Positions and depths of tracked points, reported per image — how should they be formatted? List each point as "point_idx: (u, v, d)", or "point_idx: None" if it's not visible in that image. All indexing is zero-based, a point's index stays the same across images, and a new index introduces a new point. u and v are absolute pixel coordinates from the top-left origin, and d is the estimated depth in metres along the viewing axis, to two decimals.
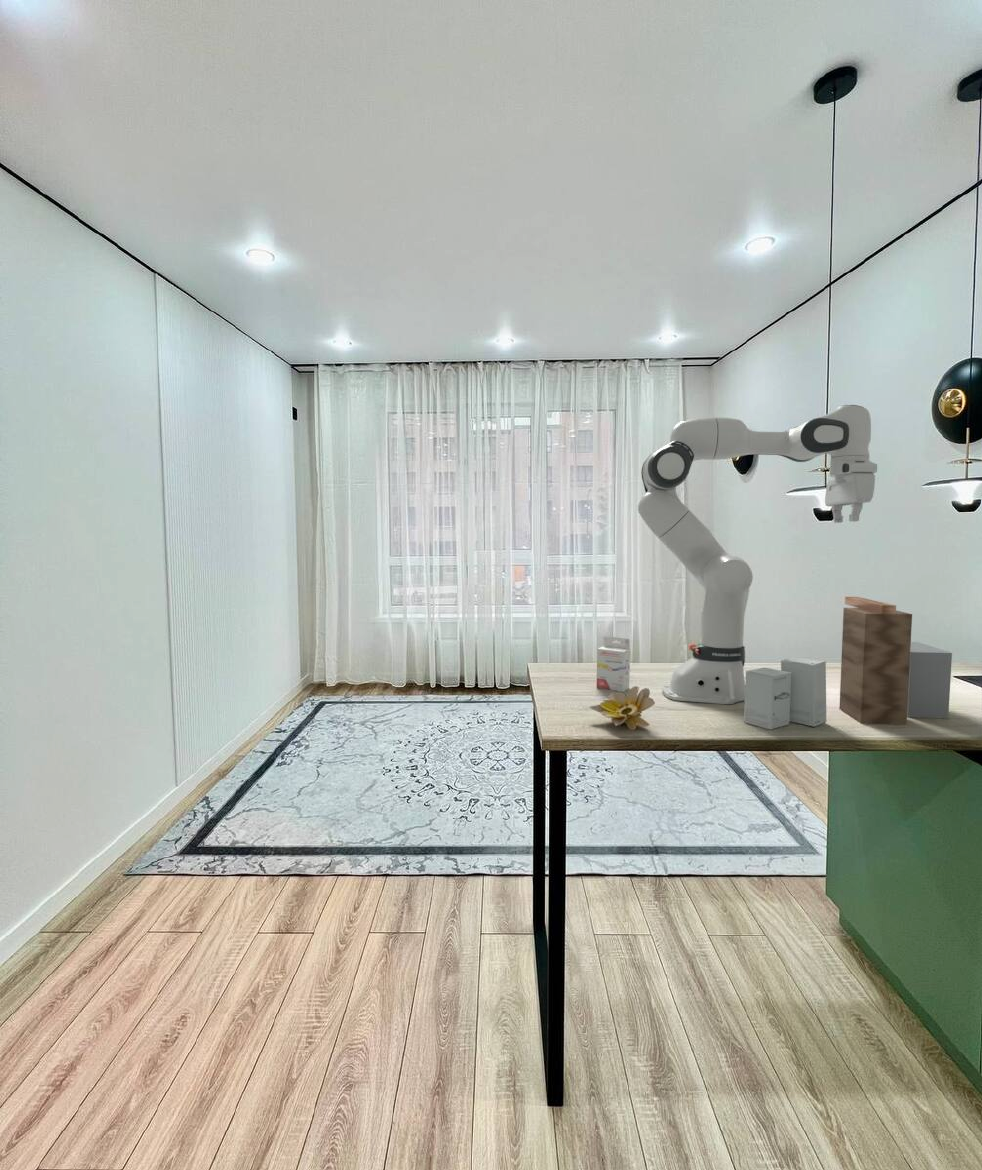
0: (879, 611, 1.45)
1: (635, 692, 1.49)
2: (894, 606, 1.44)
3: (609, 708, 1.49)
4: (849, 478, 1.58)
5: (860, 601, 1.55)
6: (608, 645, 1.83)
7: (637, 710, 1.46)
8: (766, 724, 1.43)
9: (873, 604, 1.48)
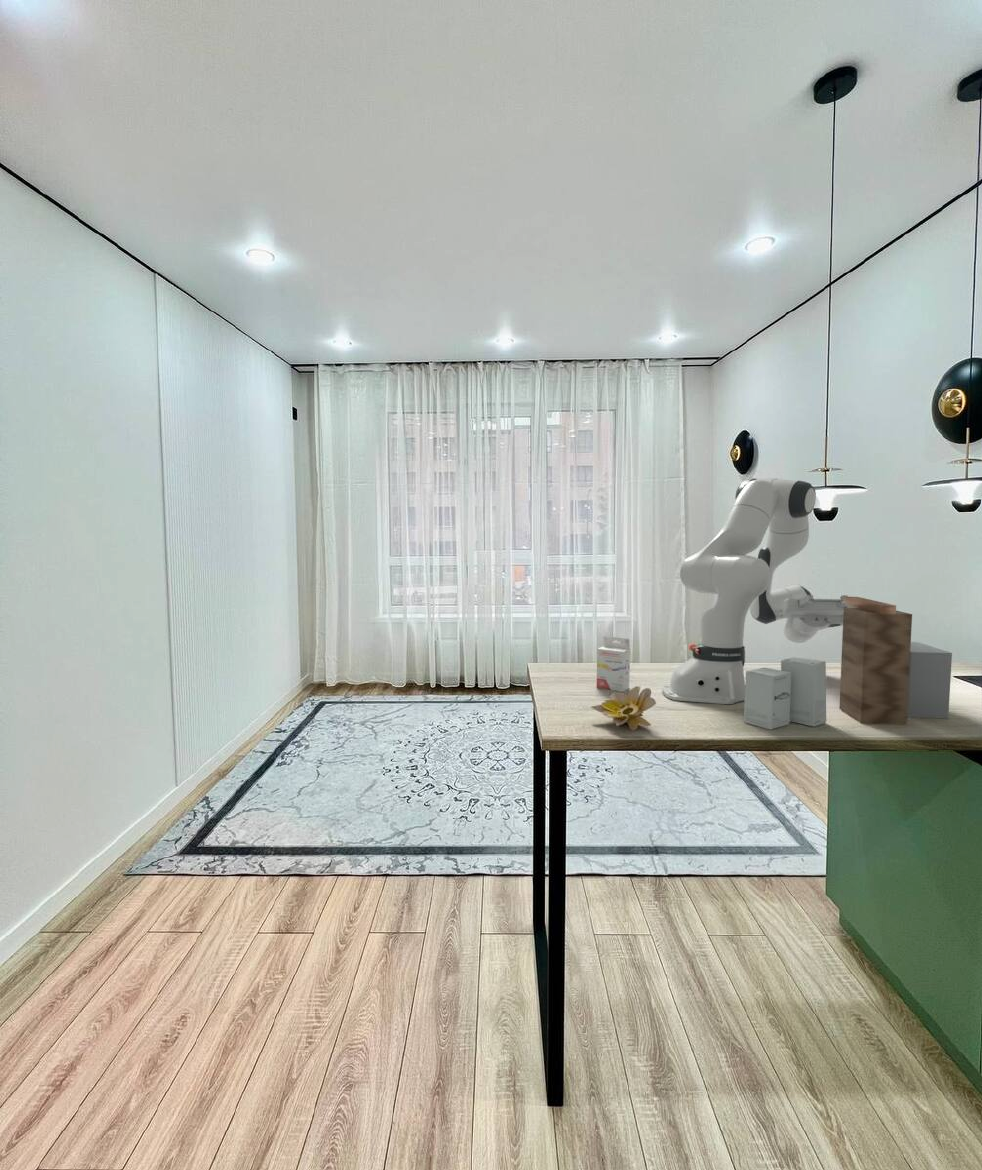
0: (879, 611, 1.45)
1: (636, 692, 1.50)
2: (894, 606, 1.44)
3: (610, 708, 1.50)
4: None
5: (860, 601, 1.55)
6: (608, 645, 1.83)
7: (638, 710, 1.46)
8: (766, 724, 1.43)
9: (873, 604, 1.48)
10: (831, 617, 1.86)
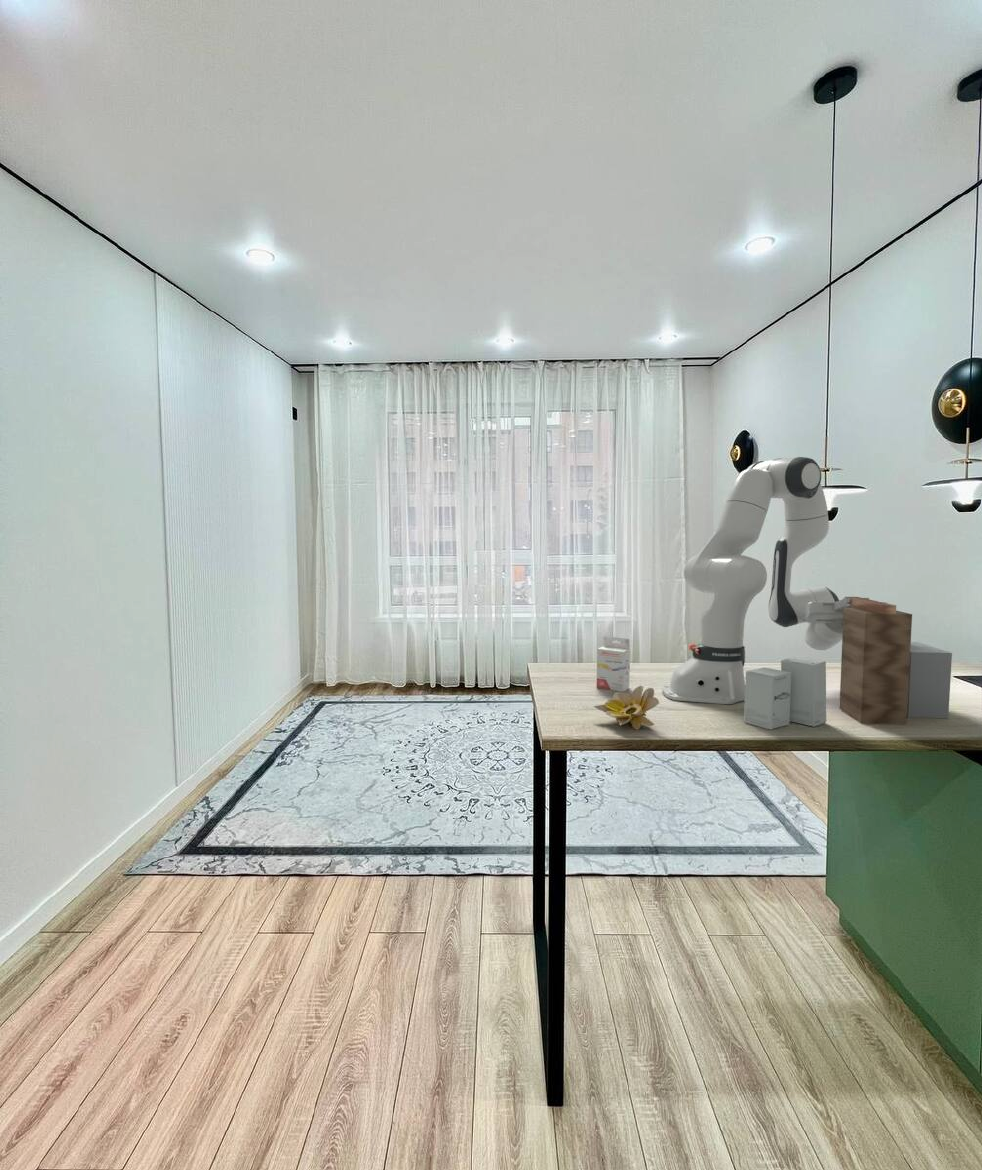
0: (879, 611, 1.45)
1: (640, 692, 1.50)
2: (894, 606, 1.44)
3: (613, 708, 1.50)
4: None
5: (860, 601, 1.55)
6: (608, 645, 1.83)
7: (642, 710, 1.46)
8: (766, 724, 1.43)
9: (873, 604, 1.48)
10: None
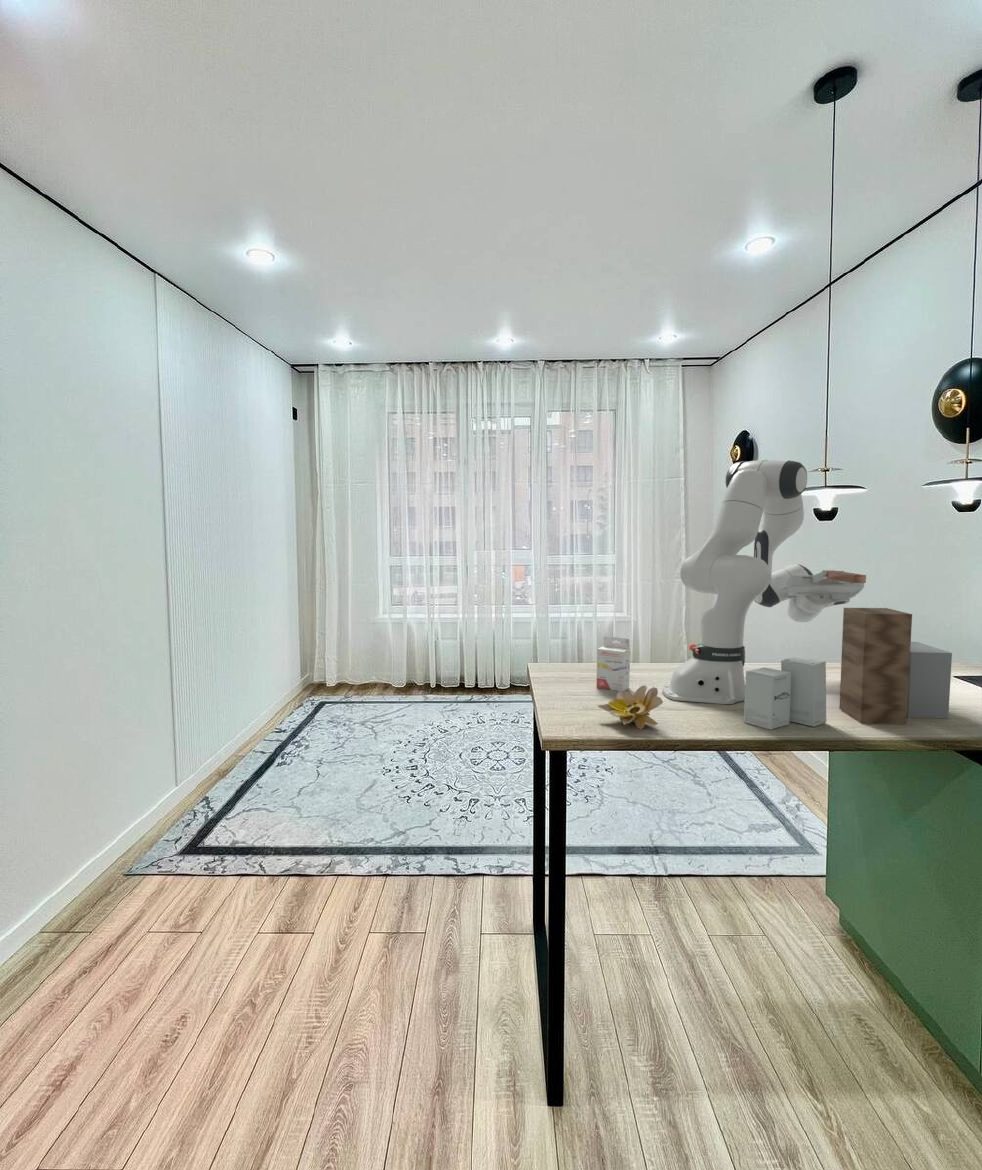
0: (851, 580, 1.60)
1: (643, 691, 1.50)
2: (864, 576, 1.59)
3: (617, 707, 1.50)
4: None
5: (835, 573, 1.70)
6: (608, 645, 1.83)
7: (645, 709, 1.47)
8: (766, 724, 1.43)
9: (846, 575, 1.63)
10: (837, 594, 1.83)
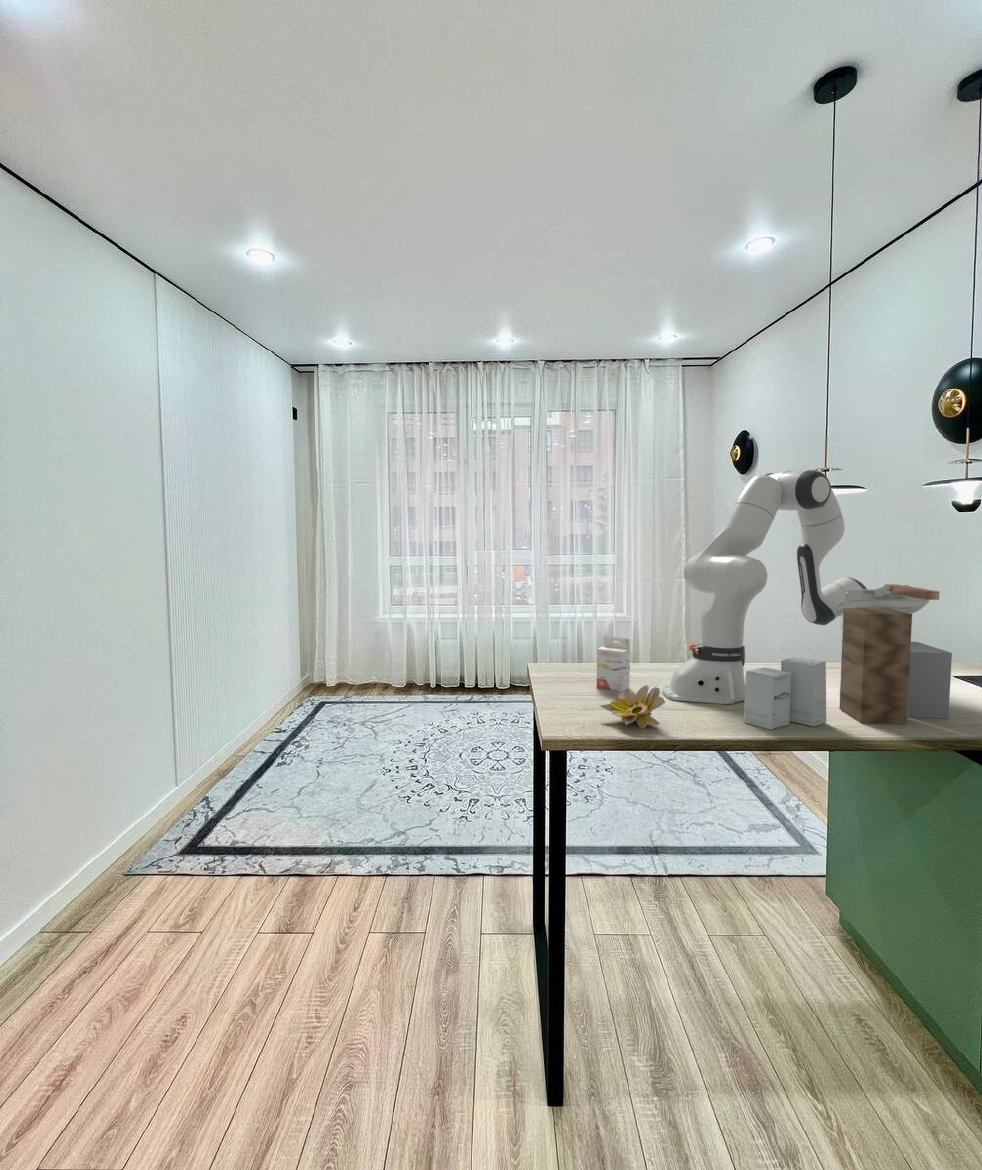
0: (923, 597, 1.51)
1: (645, 691, 1.50)
2: (937, 592, 1.49)
3: (619, 707, 1.50)
4: None
5: (901, 588, 1.60)
6: (608, 645, 1.83)
7: (647, 709, 1.47)
8: (766, 724, 1.43)
9: (916, 590, 1.54)
10: (898, 609, 1.73)
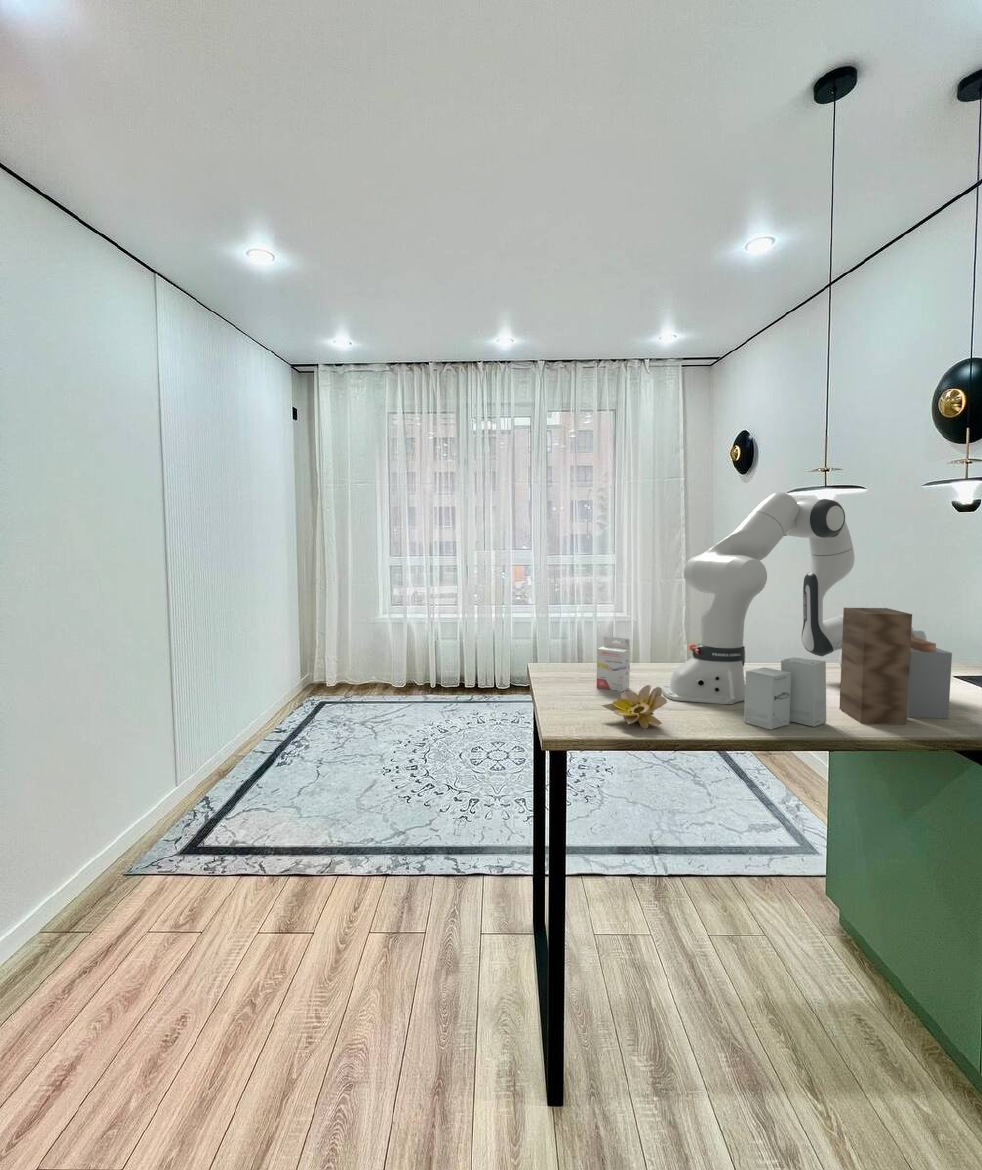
0: (919, 648, 1.52)
1: (647, 691, 1.51)
2: (934, 644, 1.50)
3: (621, 707, 1.51)
4: None
5: None
6: (608, 645, 1.83)
7: (649, 709, 1.47)
8: (766, 724, 1.43)
9: (913, 641, 1.55)
10: None
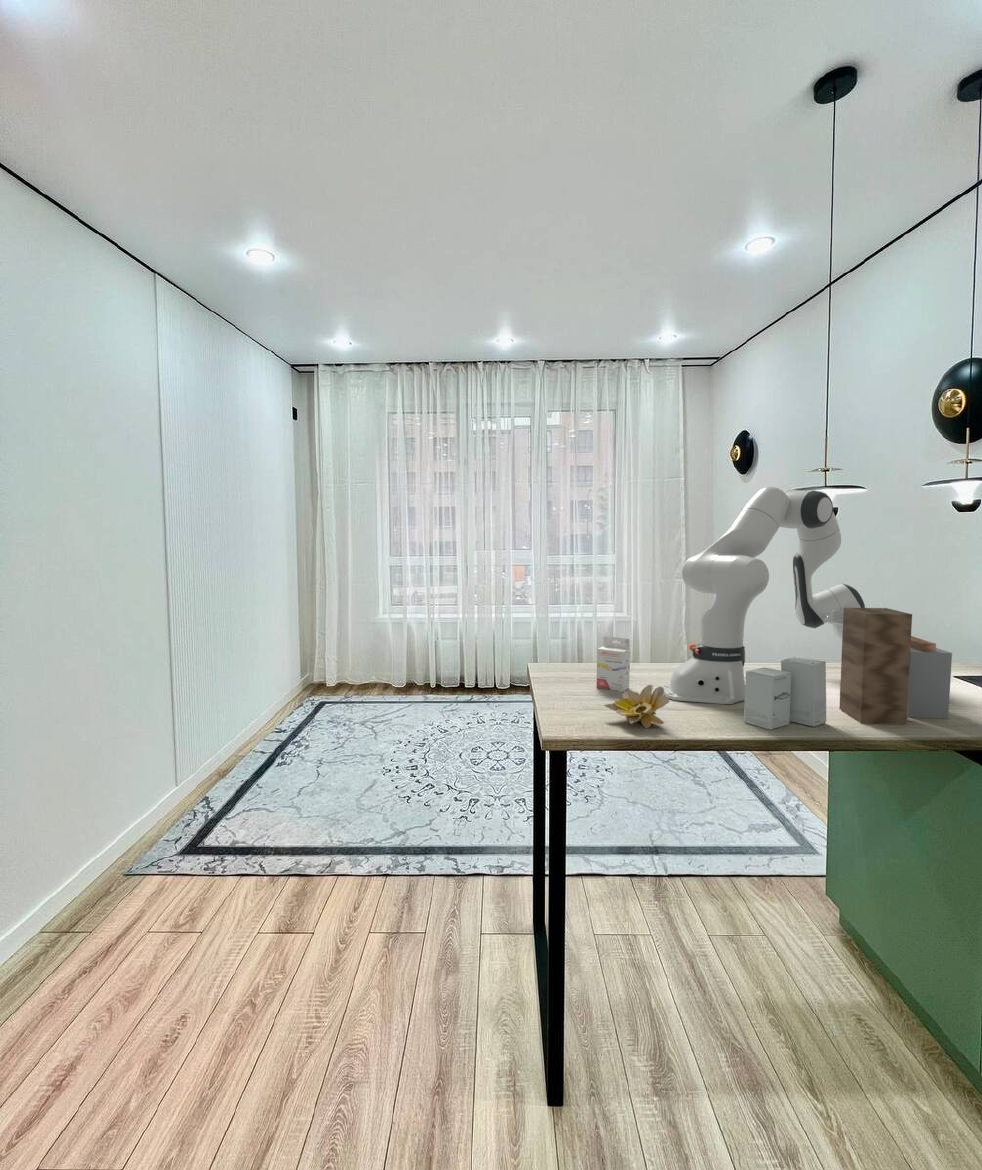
0: (919, 648, 1.52)
1: (649, 690, 1.51)
2: (934, 644, 1.50)
3: (623, 706, 1.51)
4: None
5: None
6: (608, 645, 1.83)
7: (651, 708, 1.47)
8: (766, 724, 1.43)
9: (913, 641, 1.55)
10: None
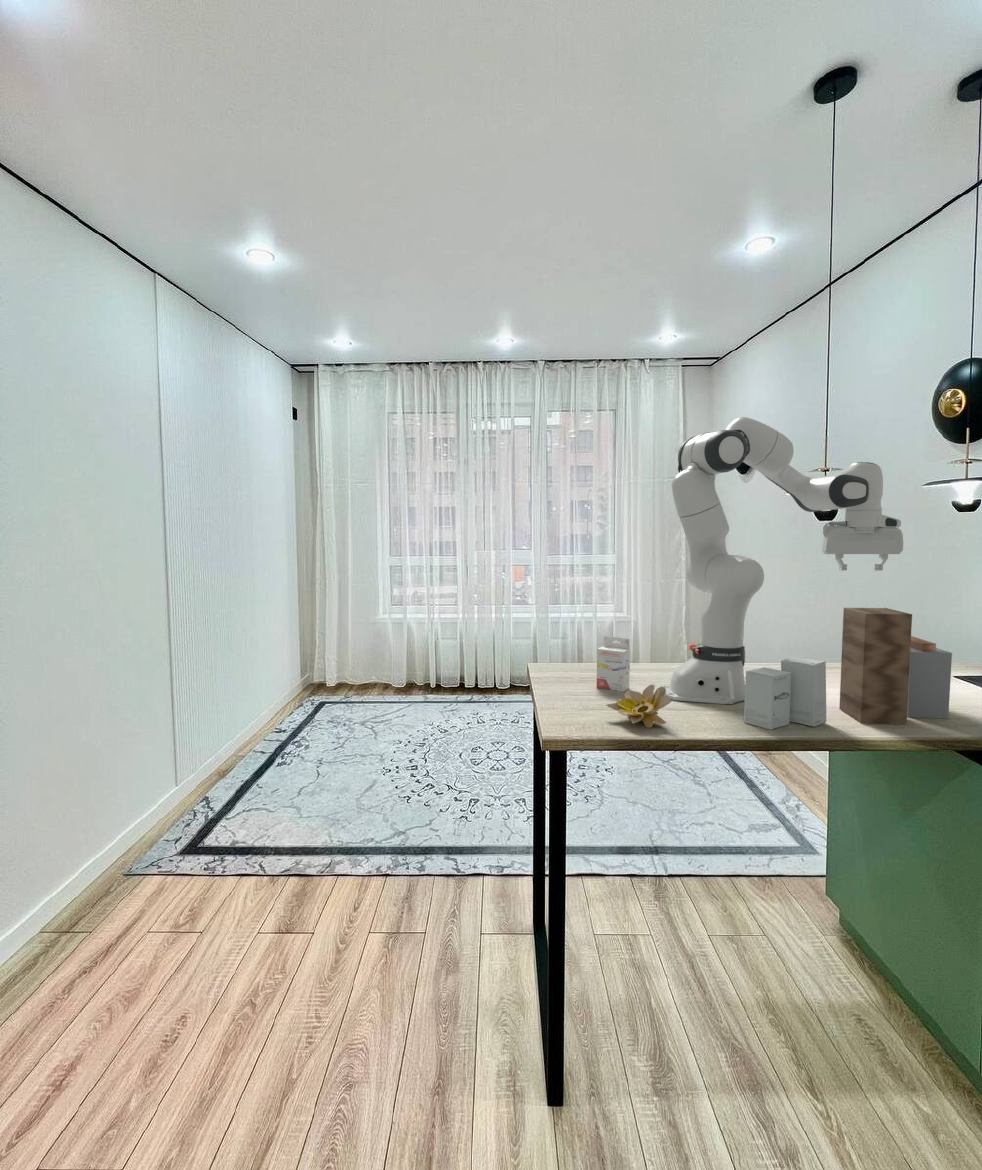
0: (919, 648, 1.52)
1: (651, 690, 1.51)
2: (934, 644, 1.50)
3: (625, 706, 1.51)
4: (889, 532, 1.72)
5: None
6: (608, 645, 1.83)
7: (653, 708, 1.48)
8: (766, 724, 1.43)
9: (913, 641, 1.55)
10: None
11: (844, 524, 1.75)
